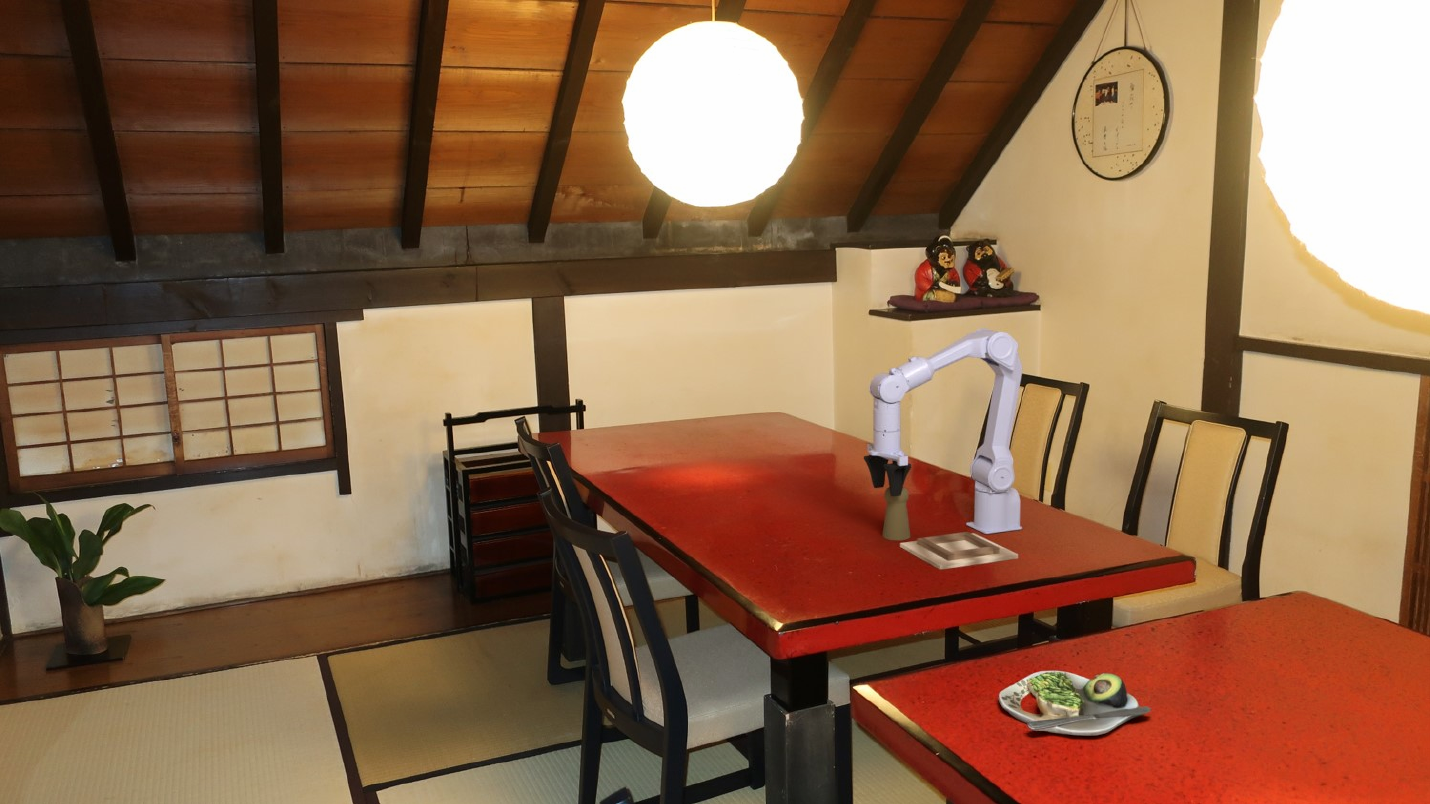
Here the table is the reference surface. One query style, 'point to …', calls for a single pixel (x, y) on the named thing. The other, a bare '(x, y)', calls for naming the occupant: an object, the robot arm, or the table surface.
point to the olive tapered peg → (896, 516)
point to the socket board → (957, 550)
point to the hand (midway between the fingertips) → (887, 491)
